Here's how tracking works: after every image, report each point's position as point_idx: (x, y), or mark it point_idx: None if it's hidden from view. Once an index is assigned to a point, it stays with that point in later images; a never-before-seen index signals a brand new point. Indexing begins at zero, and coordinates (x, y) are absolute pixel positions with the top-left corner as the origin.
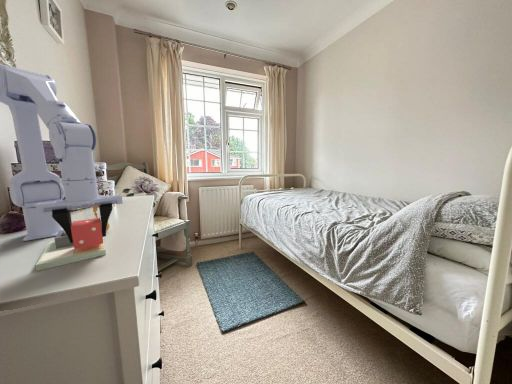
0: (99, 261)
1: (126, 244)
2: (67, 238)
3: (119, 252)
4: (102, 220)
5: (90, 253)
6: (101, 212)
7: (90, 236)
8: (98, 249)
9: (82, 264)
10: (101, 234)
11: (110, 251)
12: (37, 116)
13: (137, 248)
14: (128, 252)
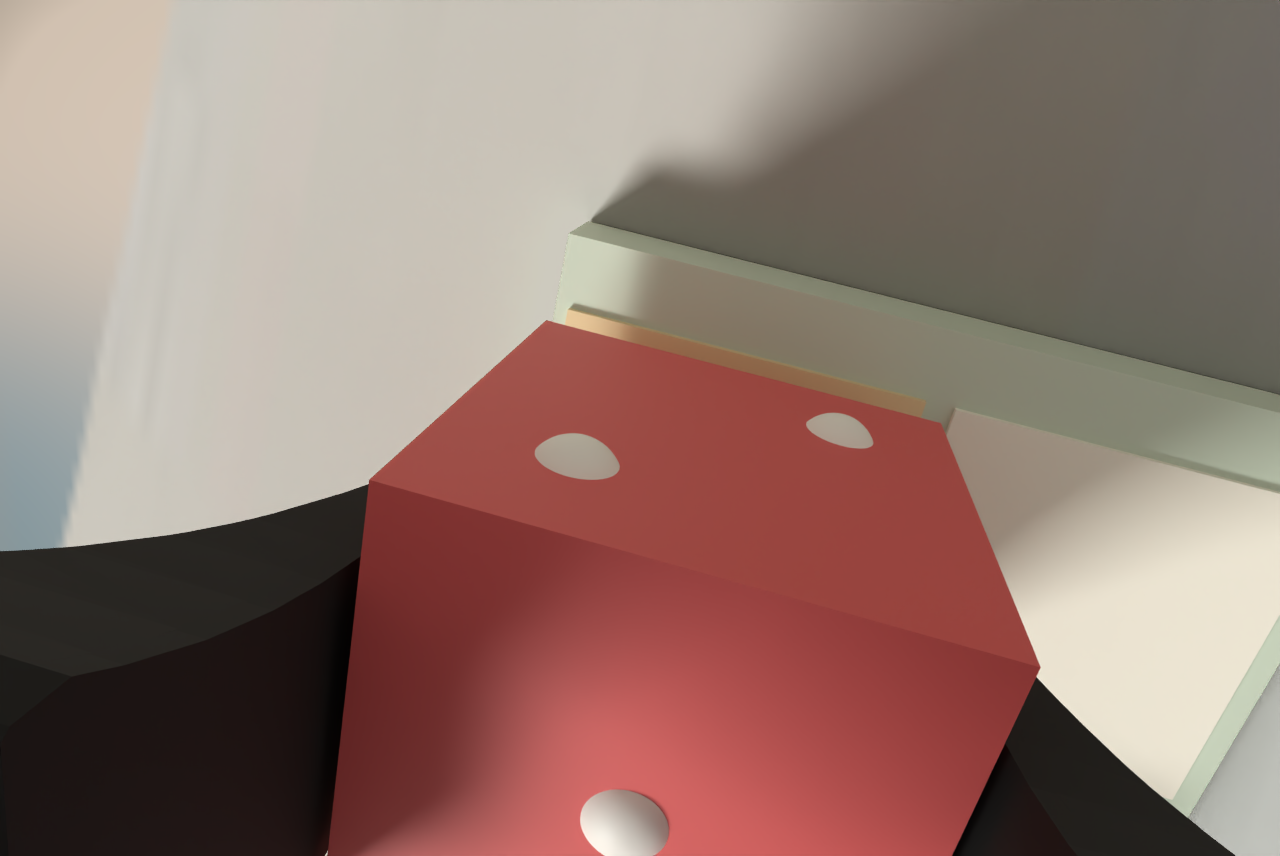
0: (716, 20)
1: (295, 382)
2: None
3: (430, 140)
4: (298, 565)
5: (759, 277)
6: (106, 647)
7: (682, 423)
8: (639, 323)
9: (908, 119)
10: (500, 368)
11: (514, 298)
12: None
13: (200, 70)
14: (331, 16)
